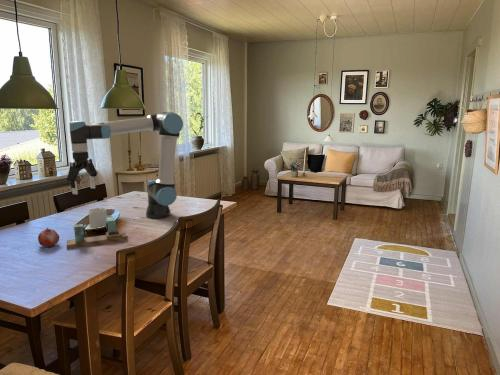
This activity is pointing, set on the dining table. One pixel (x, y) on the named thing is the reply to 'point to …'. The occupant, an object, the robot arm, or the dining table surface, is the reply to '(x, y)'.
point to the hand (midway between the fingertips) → (84, 191)
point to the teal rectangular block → (111, 225)
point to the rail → (93, 238)
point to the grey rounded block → (97, 217)
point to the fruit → (48, 238)
